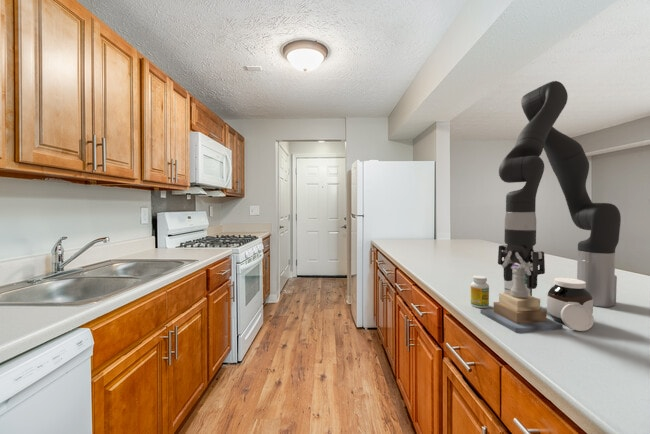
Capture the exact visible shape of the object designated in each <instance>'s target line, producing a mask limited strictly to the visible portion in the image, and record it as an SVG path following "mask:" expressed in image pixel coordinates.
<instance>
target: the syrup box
mask: <svg viewBox="0 0 650 434" xmlns="http://www.w3.org/2000/svg"><path fill="white" fill-rule="evenodd" d="M529 263H530V262H529ZM511 268H512V281H505V280H504V279H503V293H511V288H512V286H513V285H514V275H515V274H514V272H513V270H514V268H517V269H518V268H520V269H522V268H523V267H522V265H521V264H518V263H515V264H514V265H513V266H512V267H511ZM524 269H525V268H524ZM530 269H531V268H530ZM525 271H526V270H525ZM531 271H532V269H531ZM527 275H528V273H527V272H526V274H525V275H524V277H525V279H524V282H525V287H526V290H527V291H528V295H530V296H533V289H529V288H527Z"/></svg>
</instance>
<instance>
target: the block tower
mask: <svg viewBox="0 0 650 434" xmlns="http://www.w3.org/2000/svg"><path fill="white" fill-rule="evenodd" d="M547 313H548V311H547V310H546V309H543V308H541V299H540V298H538V297H536V296H533V295H532V296H530V295H528V297H527V298H517V297H513V296H511V294H510V293H504V292H499V293H498V301H494V302H493V308H488V309H487V308H484V309H480V314H481V315H483V316H485V317H487V318H489V319H490V320H492V321H494V322H496V323H498V324H500V325H501V326H503V327H505V328H507V329H509V330H510V331H512V332H514V333H524V332H534V331H547V330H548V331H549V330H561V329H563V328H564V327H563V326H564V324H563V323H560V322H558V321H556V320H554V319H553V320H552V319H550V318H548V317H547Z"/></svg>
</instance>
